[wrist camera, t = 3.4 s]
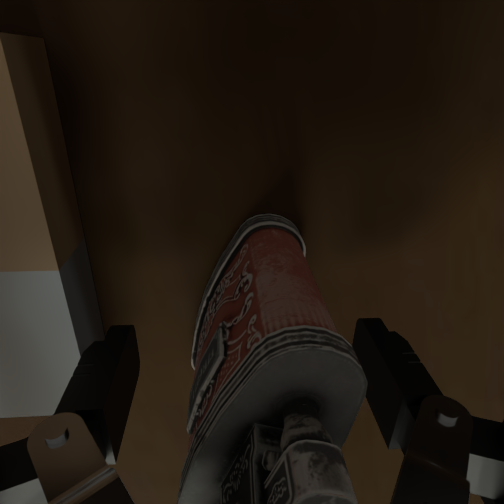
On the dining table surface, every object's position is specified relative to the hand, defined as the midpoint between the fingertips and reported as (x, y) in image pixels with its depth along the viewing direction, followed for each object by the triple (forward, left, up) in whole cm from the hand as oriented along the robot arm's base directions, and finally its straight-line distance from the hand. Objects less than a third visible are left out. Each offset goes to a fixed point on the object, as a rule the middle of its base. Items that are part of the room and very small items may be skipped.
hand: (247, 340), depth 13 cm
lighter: (0, 0, -3) cm, 3 cm away
